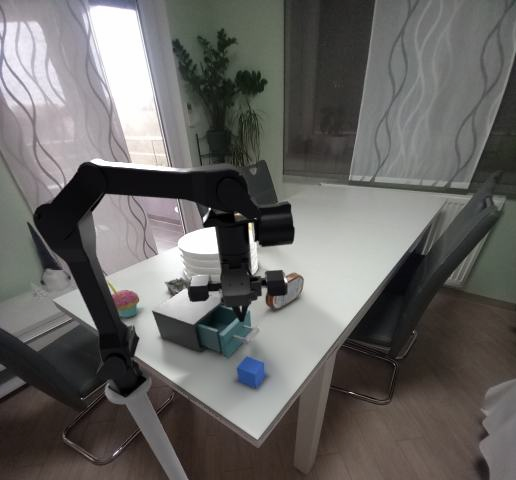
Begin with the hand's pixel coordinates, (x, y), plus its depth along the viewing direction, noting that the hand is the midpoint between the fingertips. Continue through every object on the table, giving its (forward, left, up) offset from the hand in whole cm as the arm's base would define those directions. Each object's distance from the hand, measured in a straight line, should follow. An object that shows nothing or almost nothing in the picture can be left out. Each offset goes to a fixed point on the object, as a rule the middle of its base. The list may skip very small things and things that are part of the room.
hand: (241, 321), depth 58 cm
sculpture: (+72, +47, -11) cm, 87 cm away
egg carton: (+18, +36, -11) cm, 42 cm away
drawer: (+3, +8, -10) cm, 13 cm away
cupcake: (+1, +43, -11) cm, 45 cm away
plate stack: (+39, +35, -11) cm, 54 cm away
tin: (+27, +2, -11) cm, 30 cm away
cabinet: (+3, +18, -11) cm, 22 cm away
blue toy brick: (-5, -5, -11) cm, 13 cm away
